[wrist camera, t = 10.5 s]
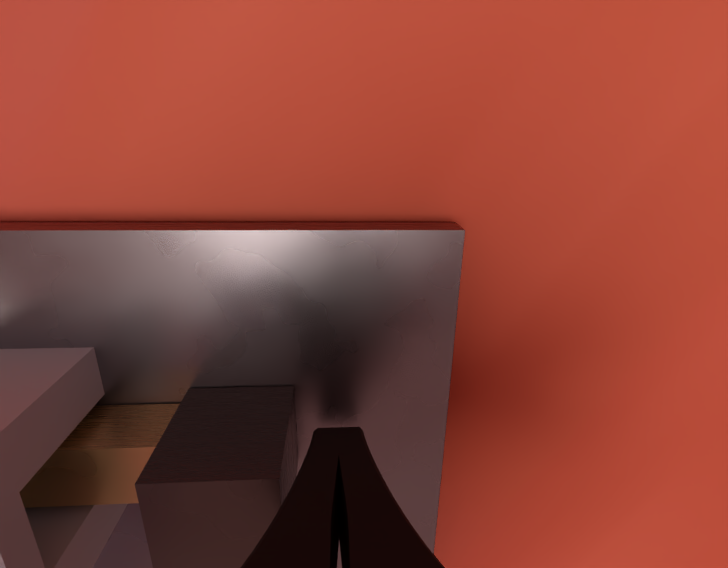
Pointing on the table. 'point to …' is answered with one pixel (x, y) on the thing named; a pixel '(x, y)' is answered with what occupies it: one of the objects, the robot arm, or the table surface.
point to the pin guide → (46, 457)
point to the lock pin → (183, 470)
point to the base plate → (255, 328)
